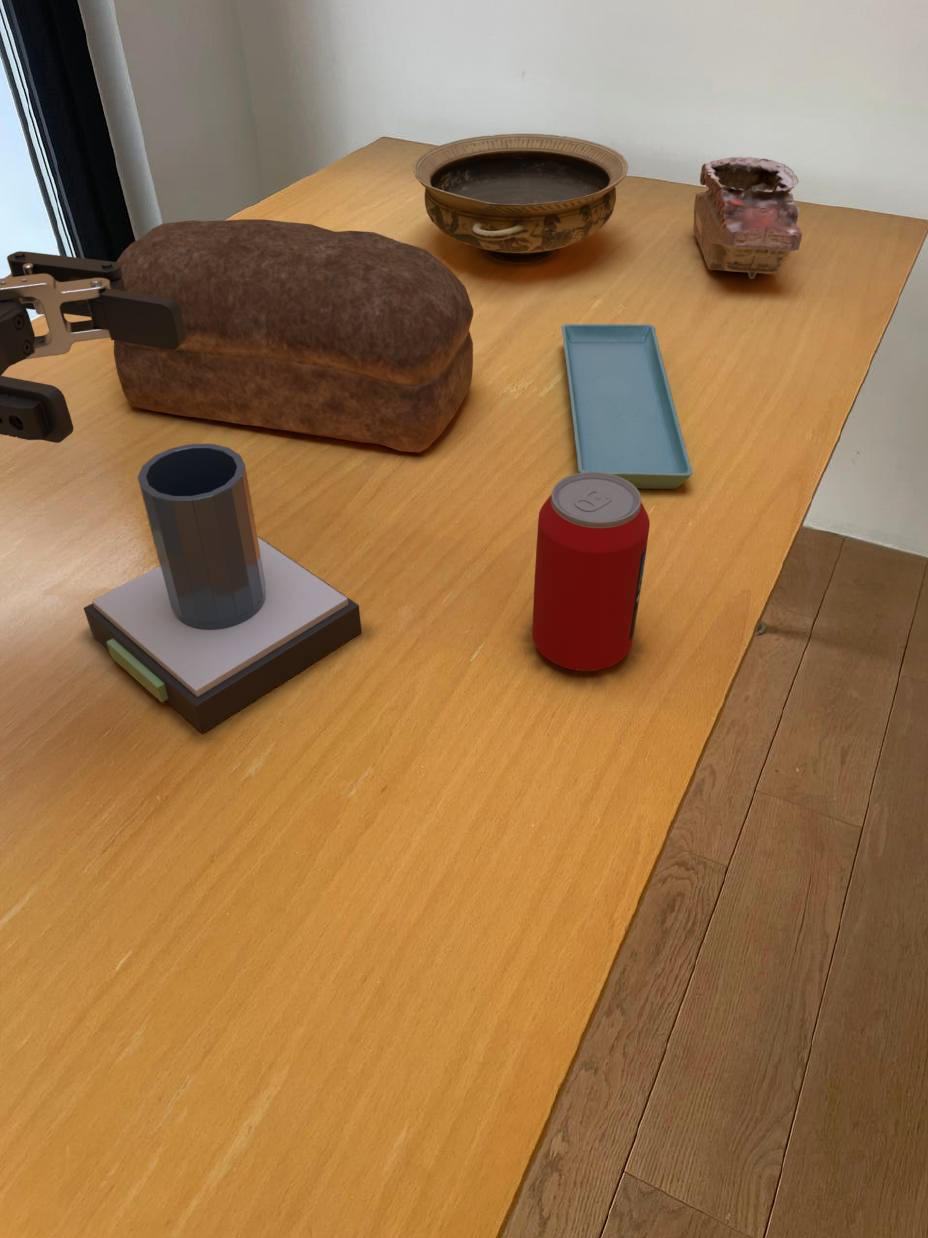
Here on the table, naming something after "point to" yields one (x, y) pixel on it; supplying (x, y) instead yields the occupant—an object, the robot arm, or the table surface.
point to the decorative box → (746, 215)
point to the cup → (204, 534)
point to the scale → (223, 639)
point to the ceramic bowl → (520, 192)
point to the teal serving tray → (623, 405)
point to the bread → (301, 331)
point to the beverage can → (589, 570)
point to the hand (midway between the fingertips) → (126, 367)
